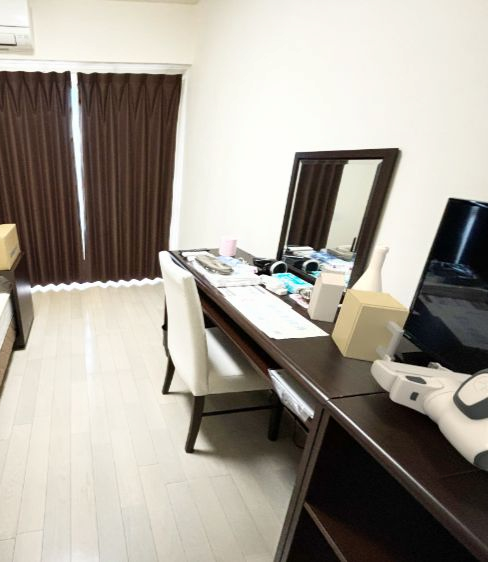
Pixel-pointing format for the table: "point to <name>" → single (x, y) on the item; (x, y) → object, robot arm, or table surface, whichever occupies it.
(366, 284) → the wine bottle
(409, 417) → the table surface
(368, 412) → the table surface
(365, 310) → the fridge door
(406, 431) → the table surface
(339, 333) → the fridge
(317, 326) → the table surface
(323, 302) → the milk carton
